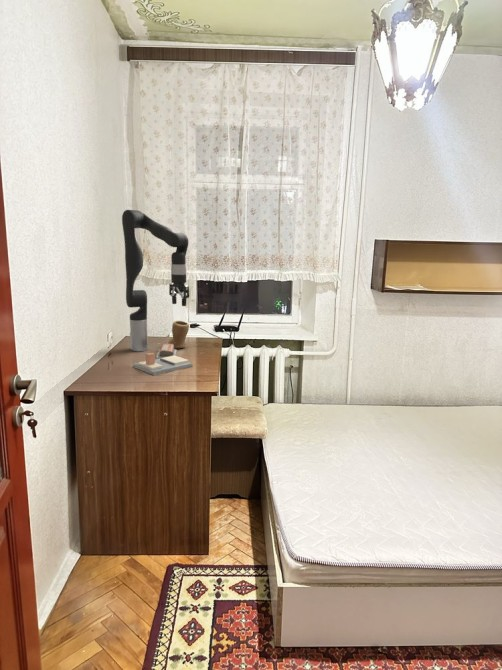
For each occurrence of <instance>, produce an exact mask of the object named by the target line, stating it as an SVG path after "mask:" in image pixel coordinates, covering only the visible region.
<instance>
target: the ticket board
mask: <svg viewBox="0 0 502 670" xmlns="http://www.w3.org/2000/svg"><path fill="white" fill-rule="evenodd" d="M155 363H157V364H160V365H162V366H163V368H158V369H154V370H151V369H149V368H146V367H144V366H141V365H139V364H138V362H135V363H133V364H132V365H133V368H135V369H138V370H139V371H140V370H141V371H143V372H146V373H147V374H149V375H152V376H156V375H160V374H164V373H169V372H172V371H173V372H174V371H177V370H181V369H187V368H190V367H191V366H192V367H193V362H190V361H189V359H188V358H187V359H186V358H183V357H180V356H177V355H176V356H175V355H174V356H169V357H164V358H160V359H156V358H155Z"/></svg>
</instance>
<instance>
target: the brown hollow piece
mask: <svg viewBox="0 0 502 670" xmlns="http://www.w3.org/2000/svg"><path fill="white" fill-rule="evenodd" d="M171 327H172V328H171V333H172V338H170V339H168V343H167V344H173V345H174V349H182V348H183V349H184V348H185V347H186V346H187V345H186V341H185V340H186V337H187V336H188V333H189V330H190V329H189V328H190V324H189V323H188V322H186V321H183V320H174V321H173V322H172V326H171Z"/></svg>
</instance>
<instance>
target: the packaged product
mask: <svg viewBox="0 0 502 670" xmlns="http://www.w3.org/2000/svg"><path fill="white" fill-rule="evenodd" d="M177 349H178V348H174V345H173V344H168V343H162V344H161V347H160V348H158V351H157V353H156V356H155V359H160V358H164V357H169V356H174V355H175V356H177Z"/></svg>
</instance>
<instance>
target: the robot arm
mask: <svg viewBox="0 0 502 670" xmlns="http://www.w3.org/2000/svg"><path fill="white" fill-rule="evenodd" d="M121 224H122V230H123V231H122V232H123V238H124V239H123V240H124V263H125V274H126V275H125V278H126V280H125V284H126V285H125V300H126V306H127V307H128V308H138V310H136V311H134V312H132V313H130V314H129V328H130V329H129V331H130V332H129V343H130V344H129V345H130V347H129V348H130V350H131V351H133V352H144V351H148V349H149V343H148V337H149V336H148V294H147V291H146V290H144V289H138V290H135V289H134V287H135V282H136V280H137V278H138V276H139V274H140V273H141V272H142V269H143V267H144V254H143V251H142V248H141V247H140V244H139V243H138V240H137V239H136V231H135V230H136V229H143V230H145V231H149V232H150V234H151V235H152V236H153V237H155V238H157V239H159V240H160V241H164V243H165V244H167V245H168V246H169V247H172V248H176V249H175V251H173V252H172V254H171V257H170V258H171V265H170V267H171V269H170V270H171V271H170V272H171V274H170V278H171V279H170V280H171V283H169V285H168V286H169V287H168V289H169V290H168V293H169V296H170V297H171V303H172V305H177V303H178V302H177V301H178V300H177V295H179V296H181V307H186V306H187V299H189V298H190V286H189V285H185V284H186V283H187V266H186V262H187V261H186V255H187V252H188V247H189V238H188V236H187V234H186V233H183V232H173V230H172V229H171V228H169V227H167V226H166V225H163V224H161V223H159V222H157V221H156V220H154V219H153V218H151V217H149V216H148V215H146V214H145V213H143V212H142V211H140V210H137V209H136V210H135V209H126V210H124V211H123V213H122V215H121Z"/></svg>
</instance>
